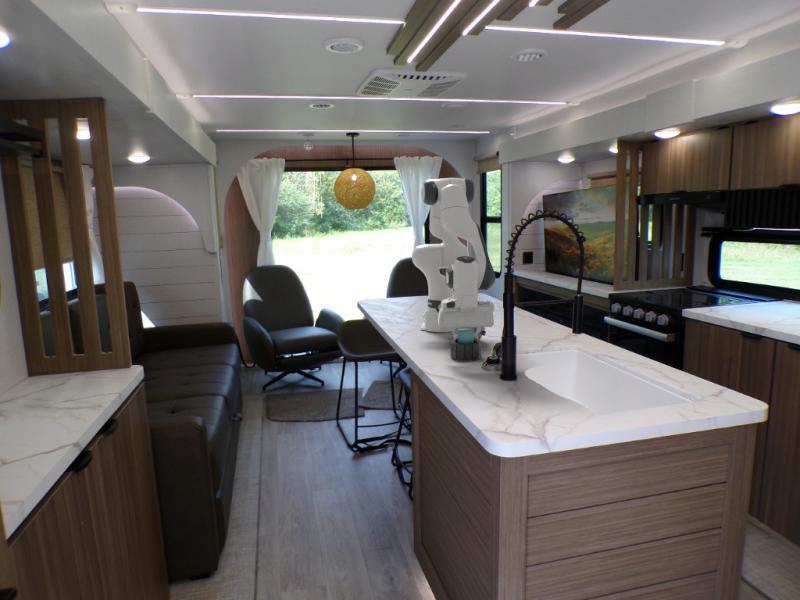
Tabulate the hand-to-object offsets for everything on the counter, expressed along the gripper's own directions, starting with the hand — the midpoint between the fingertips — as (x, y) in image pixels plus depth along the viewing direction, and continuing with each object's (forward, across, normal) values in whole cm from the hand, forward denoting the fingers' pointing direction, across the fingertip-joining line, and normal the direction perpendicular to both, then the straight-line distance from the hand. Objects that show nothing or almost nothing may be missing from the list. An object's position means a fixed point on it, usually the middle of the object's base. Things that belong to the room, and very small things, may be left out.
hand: (465, 339), depth 196 cm
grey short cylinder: (+7, 0, 0) cm, 7 cm away
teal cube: (+2, 0, 0) cm, 2 cm away
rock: (+7, -4, -24) cm, 25 cm away
